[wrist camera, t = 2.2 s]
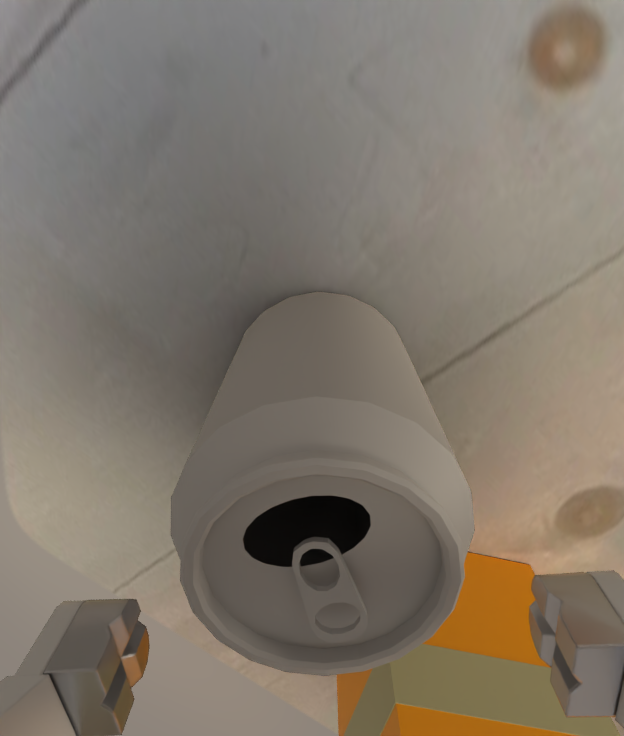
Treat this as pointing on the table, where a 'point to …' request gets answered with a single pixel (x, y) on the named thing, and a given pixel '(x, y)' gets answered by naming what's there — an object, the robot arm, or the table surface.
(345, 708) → the orange juice
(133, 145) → the table surface
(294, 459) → the can
